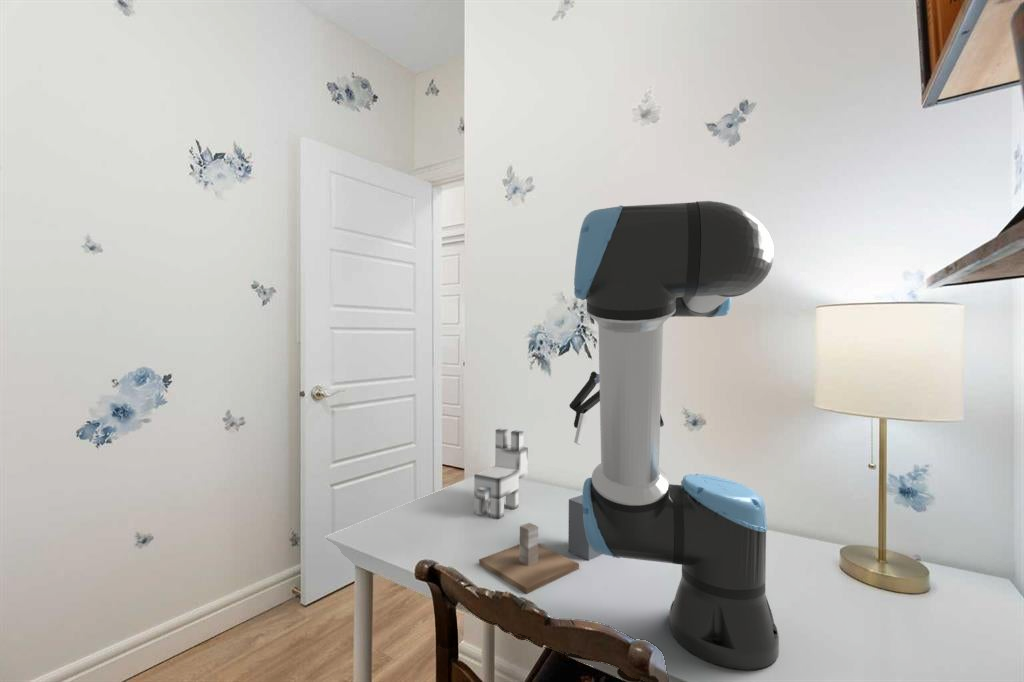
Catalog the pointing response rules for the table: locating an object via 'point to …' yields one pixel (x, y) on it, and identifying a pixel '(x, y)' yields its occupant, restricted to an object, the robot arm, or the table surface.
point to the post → (528, 562)
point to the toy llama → (502, 475)
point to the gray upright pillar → (578, 531)
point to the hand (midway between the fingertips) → (607, 450)
